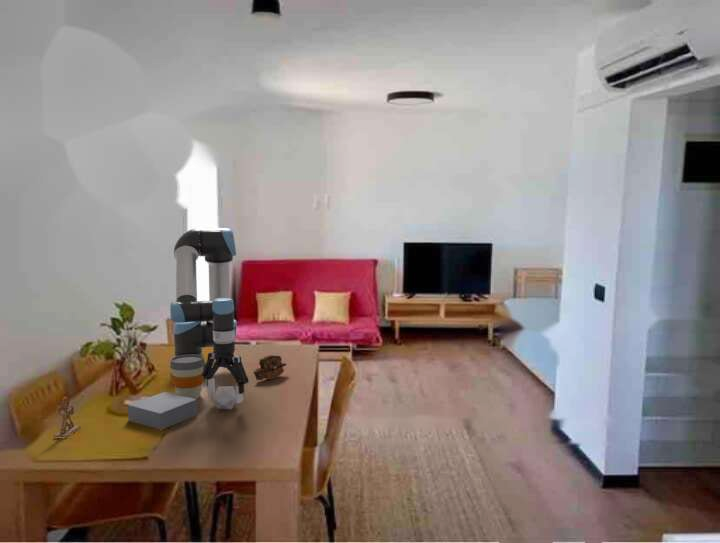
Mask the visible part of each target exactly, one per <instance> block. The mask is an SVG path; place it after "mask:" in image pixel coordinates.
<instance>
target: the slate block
mask: <svg viewBox="0 0 720 543" xmlns="http://www.w3.org/2000/svg"><path fill="white" fill-rule="evenodd" d="M197 399H198V398H197ZM197 399H194V398H189V397H185V396H181V395H177V394H176V393H173V392H168V391H163V392H160V393H157V394H155V395H153V396H149V397H146V398H144V399H141V400H137V401H135V402H132V403H130V404H127V414H128V417H127V418H128V421H129V420H130V421H129V422H131V421H133V422H132V423H135V422H137V423H136V424H138V423H139V425H142V424H143V425H142V426H145V425H147V426H146V427H149V426H150V427H149V428H152V427H154V428H153V429H156V428H158V429H157V430H159V429H162V430H164V429H166V428H165V427H167V428H169V427H172V426H174V425H176V424H178V423H179V424H180V422H183V421H186V420H187V419H190V418H193V417H194V416H197V415H198V400H197ZM171 425H172V426H171ZM163 428H164V429H163Z"/></svg>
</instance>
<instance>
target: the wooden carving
mask: <svg viewBox="0 0 720 543" xmlns="http://www.w3.org/2000/svg"><path fill="white" fill-rule="evenodd" d="M258 364H259V366H260V367H257V368H256V369H255V370H253V375H254V376H255V379H256V381H263V380H266V379H267V380H273V379H276V378H279V377H280V376H281V375H282V374H283V373H284V372H285V369H284V367H286V366H287V363H283V362H282V357H281V355H272V354H270V355H269V354H267V355H265V356H264V357H263V358H260V359H259V363H258Z"/></svg>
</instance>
